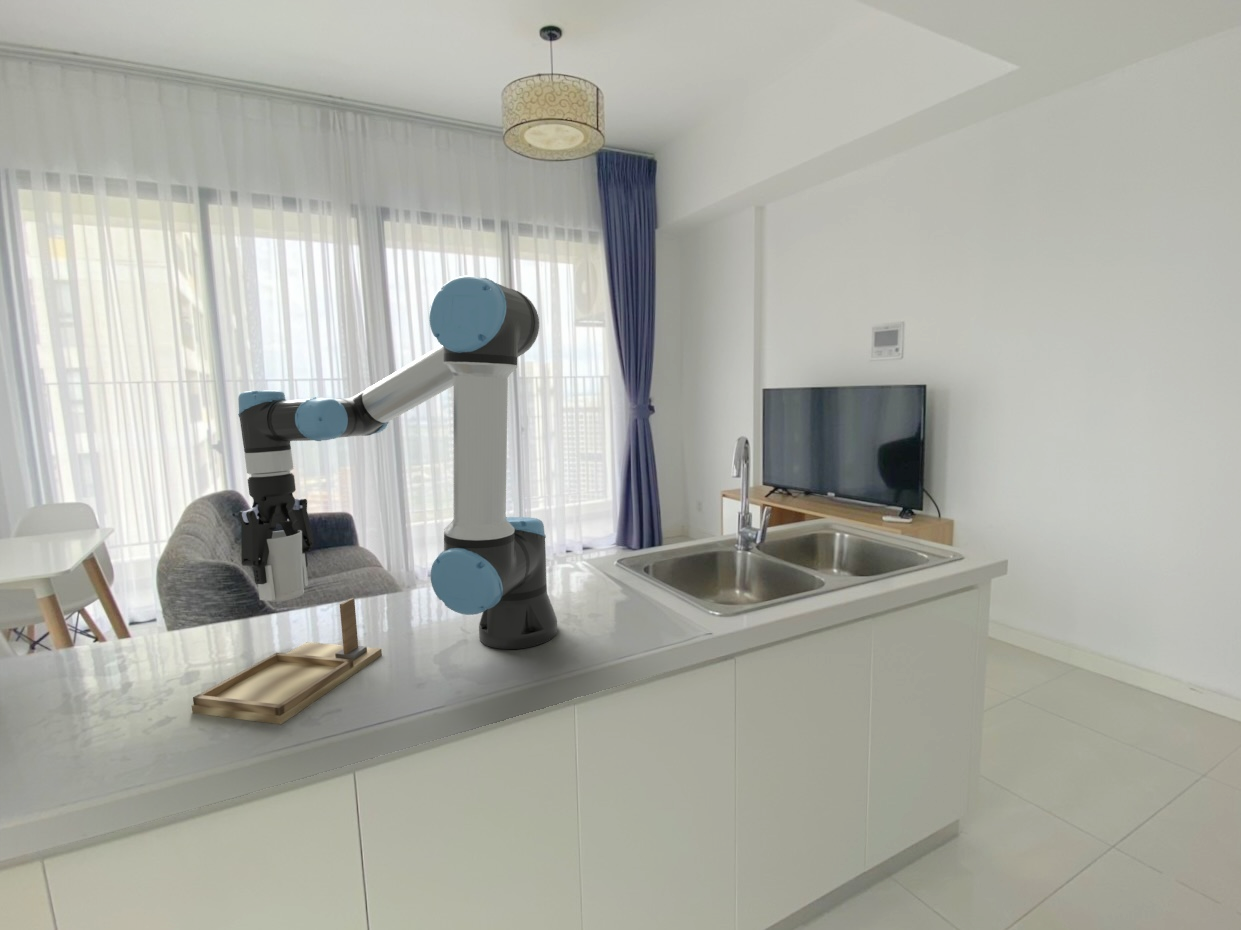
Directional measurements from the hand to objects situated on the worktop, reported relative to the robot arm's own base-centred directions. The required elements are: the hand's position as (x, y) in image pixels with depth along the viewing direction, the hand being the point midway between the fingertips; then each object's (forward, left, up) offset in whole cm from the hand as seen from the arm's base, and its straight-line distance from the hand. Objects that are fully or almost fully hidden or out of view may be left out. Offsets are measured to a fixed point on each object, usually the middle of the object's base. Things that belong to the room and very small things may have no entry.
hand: (284, 592), depth 111 cm
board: (-13, +13, -10) cm, 21 cm away
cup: (0, 0, -1) cm, 1 cm away
